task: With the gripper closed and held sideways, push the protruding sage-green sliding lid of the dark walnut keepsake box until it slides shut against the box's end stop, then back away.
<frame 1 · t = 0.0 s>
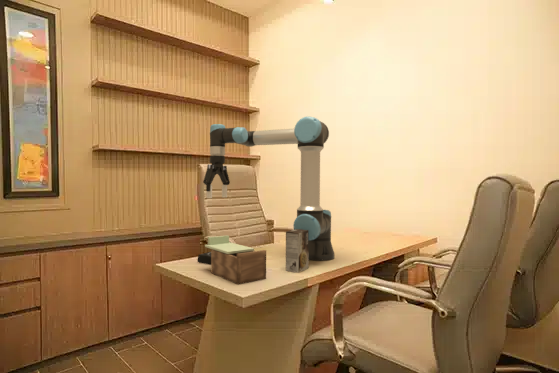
hand: (217, 197, 174), 28 cm above the table, tool pointing down, fingers open, 13 cm apart
keepsake box: (237, 275, 132), on the table
portable cd player: (224, 262, 157), on the table
lid: (229, 243, 137), point 11 cm above the table, slide at 6.0 cm
coffee box: (297, 270, 143), on the table
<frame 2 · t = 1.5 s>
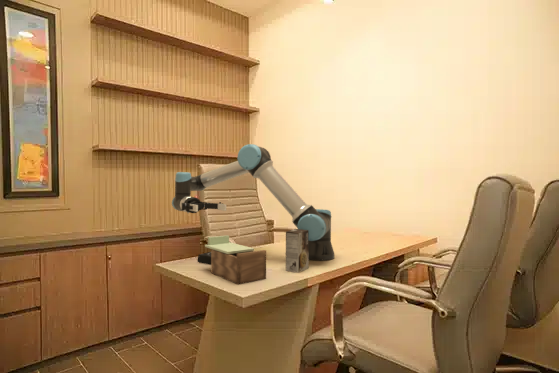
hand: (211, 208, 149), 25 cm above the table, tool horizontal, fingers open, 13 cm apart
nothing on the table moved.
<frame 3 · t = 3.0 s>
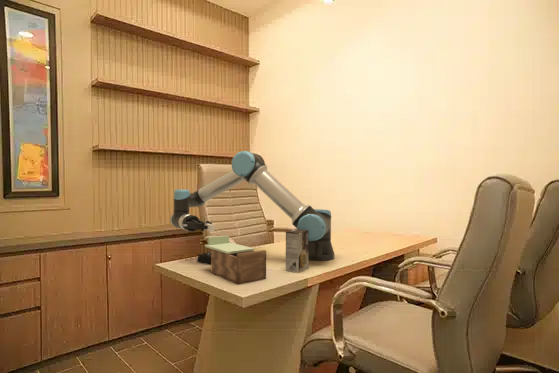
hand: (212, 228, 147), 16 cm above the table, tool horizontal, fingers closed
nothing on the table moved.
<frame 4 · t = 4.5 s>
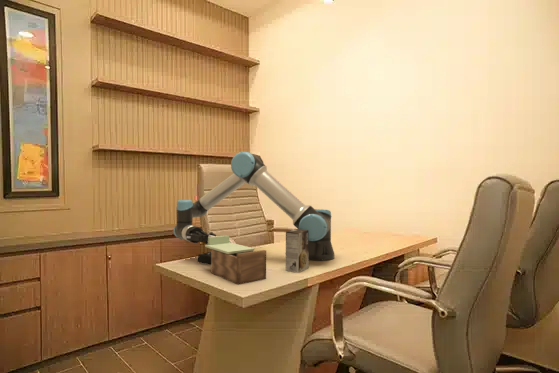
hand: (217, 240, 144), 11 cm above the table, tool horizontal, fingers closed
lid: (229, 243, 137), point 11 cm above the table, slide at 5.8 cm, touching gripper
everything else where it was.
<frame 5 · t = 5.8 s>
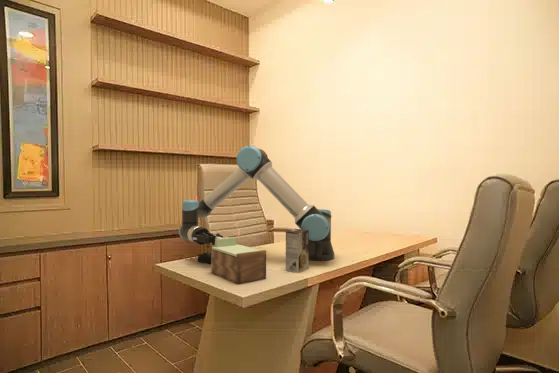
hand: (224, 242, 140), 11 cm above the table, tool horizontal, fingers closed
lid: (237, 246, 132), point 11 cm above the table, slide at -0.1 cm, touching gripper
everything else where it was.
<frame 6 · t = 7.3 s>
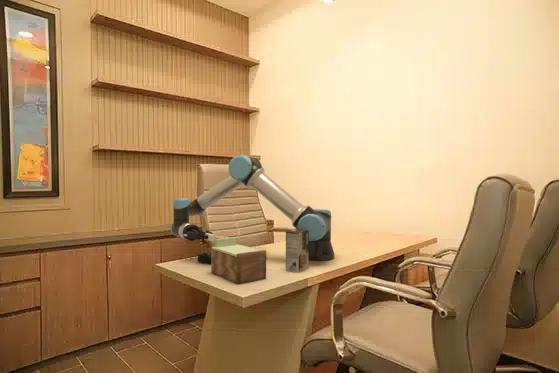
hand: (213, 238, 147), 12 cm above the table, tool horizontal, fingers closed
lid: (237, 246, 133), point 11 cm above the table, slide at 0.0 cm
everything else where it was.
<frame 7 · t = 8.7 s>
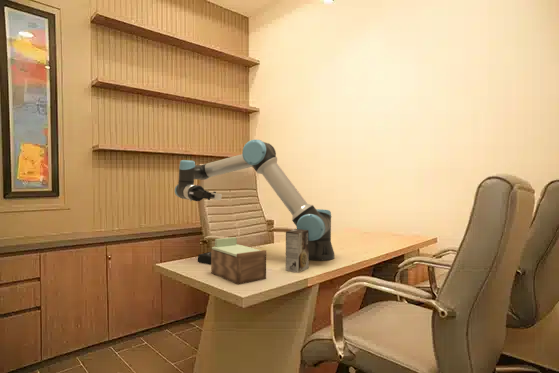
hand: (220, 197, 149), 29 cm above the table, tool horizontal, fingers closed
nothing on the table moved.
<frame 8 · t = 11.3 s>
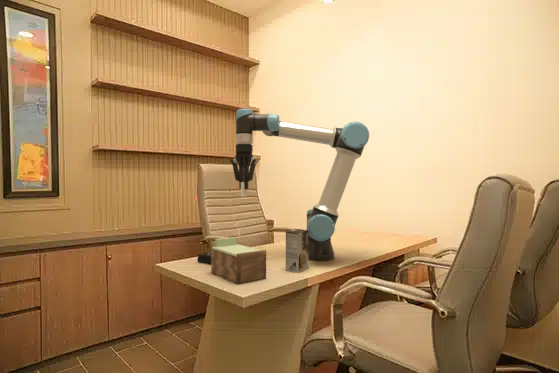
hand: (243, 196, 156), 29 cm above the table, tool pointing down, fingers closed
nothing on the table moved.
at the end: lid slide at 0.0 cm; lid touching nothing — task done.
